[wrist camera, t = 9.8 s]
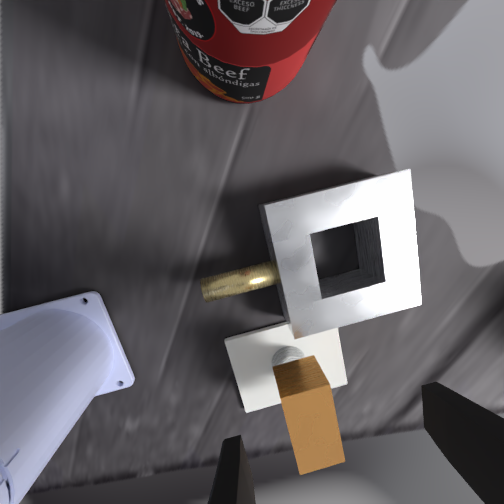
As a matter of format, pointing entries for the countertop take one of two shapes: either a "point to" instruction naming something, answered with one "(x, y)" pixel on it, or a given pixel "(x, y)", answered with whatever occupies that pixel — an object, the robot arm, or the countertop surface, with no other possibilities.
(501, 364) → the countertop surface
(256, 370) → the mat
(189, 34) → the canned food
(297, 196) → the hollow block with rod
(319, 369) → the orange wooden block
